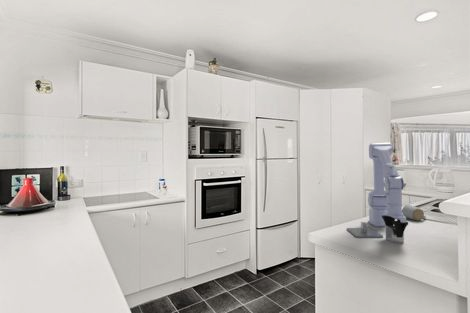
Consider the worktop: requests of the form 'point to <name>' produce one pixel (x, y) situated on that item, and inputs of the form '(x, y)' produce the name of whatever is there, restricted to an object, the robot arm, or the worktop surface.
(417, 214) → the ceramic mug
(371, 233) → the duct flange
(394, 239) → the sleeve
